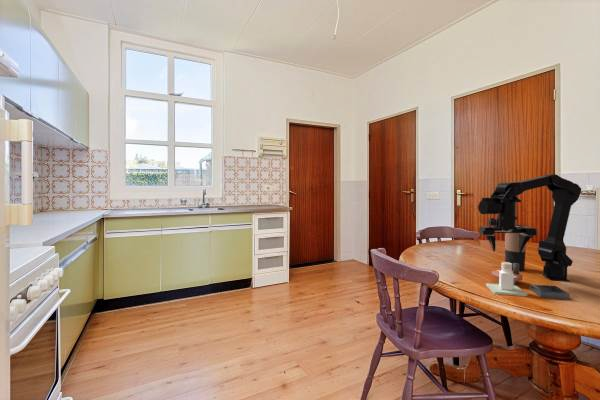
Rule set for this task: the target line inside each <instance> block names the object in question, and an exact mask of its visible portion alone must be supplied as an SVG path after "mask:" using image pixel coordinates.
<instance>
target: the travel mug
mask: <svg viewBox="0 0 600 400" xmlns="http://www.w3.org/2000/svg"><path fill="white" fill-rule="evenodd" d="M516 227H517V229H519V227H527V226H526V225H522V224H516ZM504 234H505V239H504V262H509V263H512V271H513V263H518V264H519V272H523V271H525V265H526V254H527V253H526V249H527V248H526V245H527V244H526V245H525V246H524V248H523V250H522V251H521V252H519V249H518V247H519V236H518V234H520V233H504Z"/></svg>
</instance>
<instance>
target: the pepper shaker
mask: <svg viewBox="0 0 600 400" xmlns="http://www.w3.org/2000/svg"><path fill="white" fill-rule="evenodd" d="M500 266H501V271H499V282H498V284H499V286H500V288H501V289H504V290H513V288H514V274H513V270H512V263H509V262H505V261H502V262H501V264H500Z"/></svg>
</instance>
